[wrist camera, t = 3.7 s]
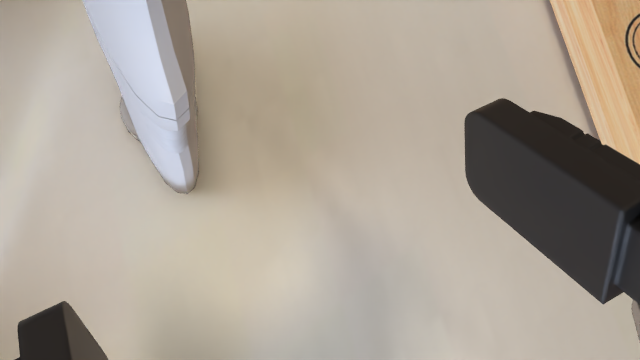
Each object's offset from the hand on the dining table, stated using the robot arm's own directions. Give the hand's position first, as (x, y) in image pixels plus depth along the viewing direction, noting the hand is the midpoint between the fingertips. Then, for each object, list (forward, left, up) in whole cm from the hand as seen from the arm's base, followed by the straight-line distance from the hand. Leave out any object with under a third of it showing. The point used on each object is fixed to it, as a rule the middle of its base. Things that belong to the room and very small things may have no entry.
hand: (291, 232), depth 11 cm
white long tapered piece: (0, +9, -22) cm, 24 cm away
